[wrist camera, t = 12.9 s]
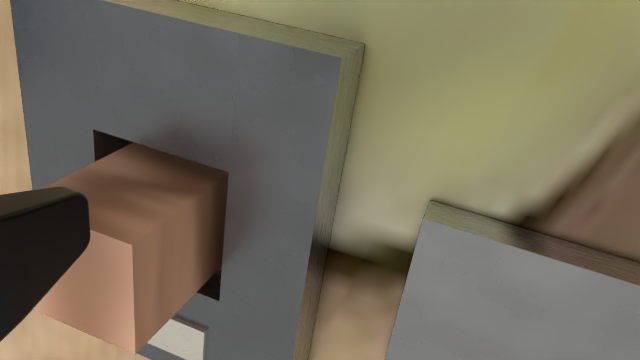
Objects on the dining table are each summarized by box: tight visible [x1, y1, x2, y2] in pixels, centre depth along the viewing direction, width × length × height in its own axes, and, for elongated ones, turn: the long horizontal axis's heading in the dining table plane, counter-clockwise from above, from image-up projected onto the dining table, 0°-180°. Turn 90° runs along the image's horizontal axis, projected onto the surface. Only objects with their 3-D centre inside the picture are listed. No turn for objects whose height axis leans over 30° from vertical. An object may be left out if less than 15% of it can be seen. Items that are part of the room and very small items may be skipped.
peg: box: [33, 142, 229, 354], centre depth 21 cm, size 4×4×7 cm
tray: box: [385, 200, 640, 360], centre depth 20 cm, size 8×8×2 cm
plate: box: [10, 0, 365, 360], centre depth 22 cm, size 13×16×3 cm
